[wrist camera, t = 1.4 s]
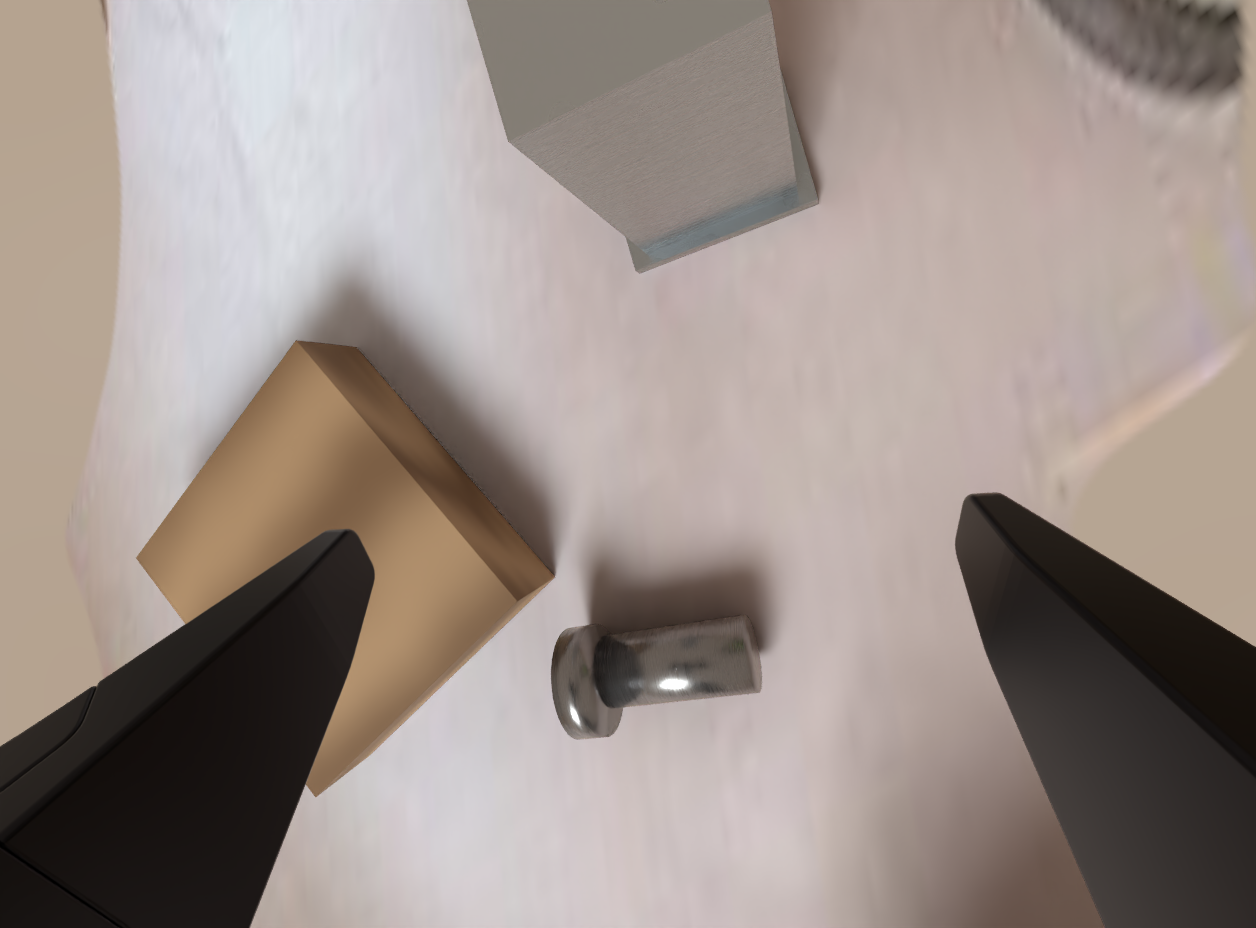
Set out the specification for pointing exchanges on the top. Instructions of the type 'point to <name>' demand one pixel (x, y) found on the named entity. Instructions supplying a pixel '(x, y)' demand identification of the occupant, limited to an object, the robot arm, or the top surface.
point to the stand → (371, 506)
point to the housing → (651, 113)
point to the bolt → (649, 669)
